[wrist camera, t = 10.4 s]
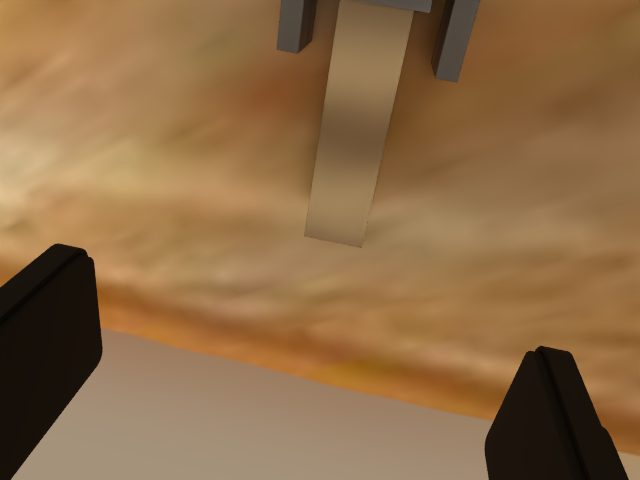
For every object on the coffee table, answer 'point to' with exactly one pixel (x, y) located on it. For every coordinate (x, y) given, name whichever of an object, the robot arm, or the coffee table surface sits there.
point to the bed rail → (357, 114)
